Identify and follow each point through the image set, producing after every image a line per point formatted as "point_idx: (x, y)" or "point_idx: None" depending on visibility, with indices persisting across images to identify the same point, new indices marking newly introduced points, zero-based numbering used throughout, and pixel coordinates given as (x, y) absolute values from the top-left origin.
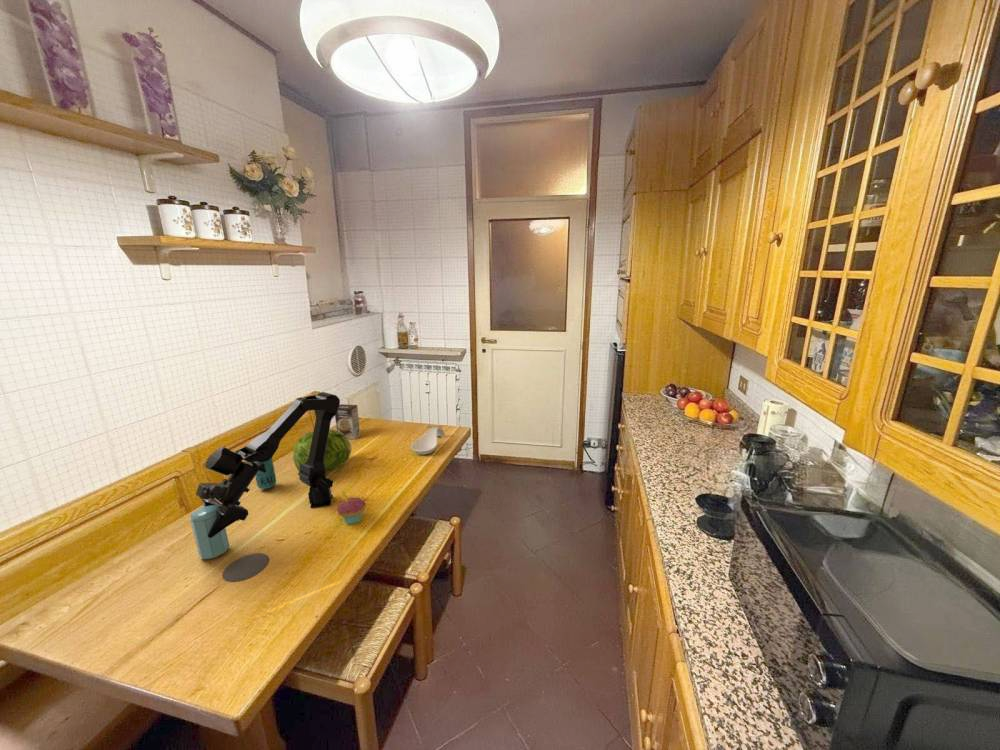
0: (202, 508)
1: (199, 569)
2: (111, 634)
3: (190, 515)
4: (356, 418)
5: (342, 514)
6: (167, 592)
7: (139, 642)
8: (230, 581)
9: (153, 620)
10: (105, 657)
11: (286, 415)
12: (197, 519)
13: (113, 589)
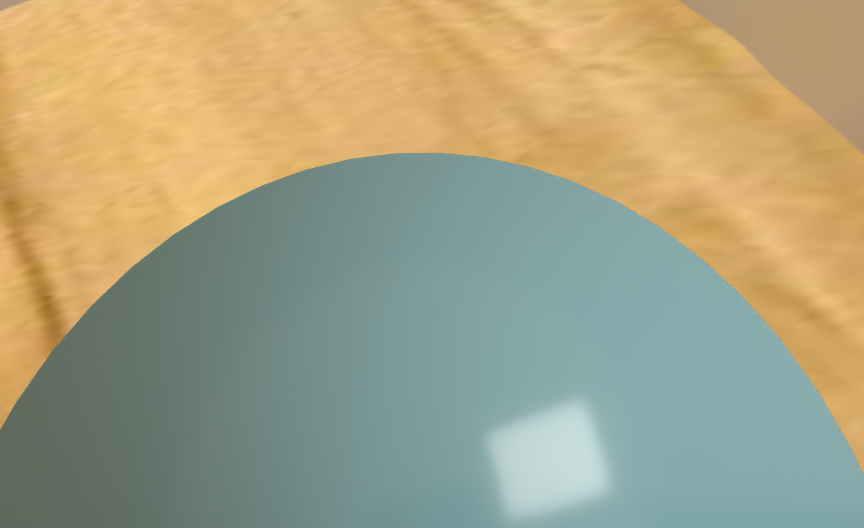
0: (802, 506)
1: None
2: (167, 33)
3: (524, 167)
4: None
5: None
6: (263, 183)
7: (21, 96)
8: None
9: (107, 134)
10: (55, 23)
11: None
12: (119, 285)
13: (474, 32)
